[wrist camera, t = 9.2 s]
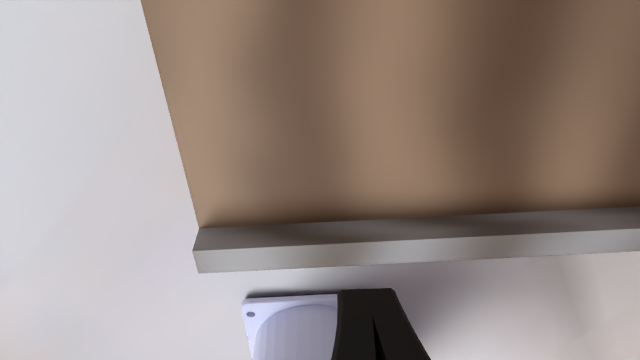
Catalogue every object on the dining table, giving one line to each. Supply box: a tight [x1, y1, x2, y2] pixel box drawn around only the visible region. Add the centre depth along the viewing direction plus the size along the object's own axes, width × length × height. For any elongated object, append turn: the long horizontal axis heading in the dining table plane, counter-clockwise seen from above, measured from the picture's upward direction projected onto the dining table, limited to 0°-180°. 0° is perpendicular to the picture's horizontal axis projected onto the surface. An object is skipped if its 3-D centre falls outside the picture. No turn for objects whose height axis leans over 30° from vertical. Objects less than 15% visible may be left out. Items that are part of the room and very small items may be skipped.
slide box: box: [141, 0, 640, 273], centre depth 15 cm, size 22×13×5 cm, turn 92°
